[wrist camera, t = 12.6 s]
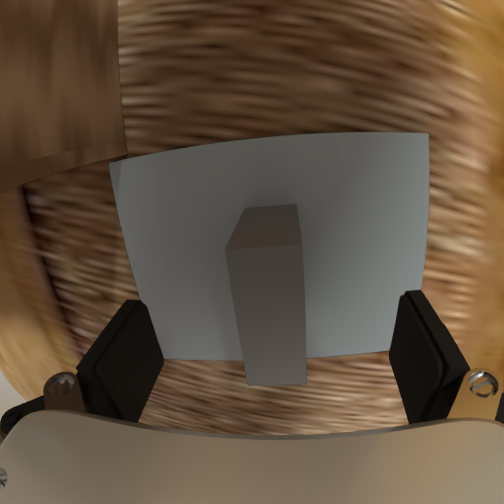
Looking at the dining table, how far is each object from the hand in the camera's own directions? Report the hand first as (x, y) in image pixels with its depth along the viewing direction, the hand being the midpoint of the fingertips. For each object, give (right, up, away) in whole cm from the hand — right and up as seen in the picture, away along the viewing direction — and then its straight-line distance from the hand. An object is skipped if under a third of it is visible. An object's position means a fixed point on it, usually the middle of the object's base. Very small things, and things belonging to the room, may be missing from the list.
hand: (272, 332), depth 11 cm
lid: (+1, +3, +8) cm, 9 cm away
